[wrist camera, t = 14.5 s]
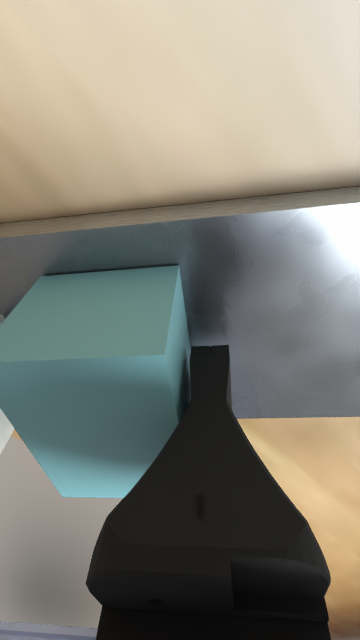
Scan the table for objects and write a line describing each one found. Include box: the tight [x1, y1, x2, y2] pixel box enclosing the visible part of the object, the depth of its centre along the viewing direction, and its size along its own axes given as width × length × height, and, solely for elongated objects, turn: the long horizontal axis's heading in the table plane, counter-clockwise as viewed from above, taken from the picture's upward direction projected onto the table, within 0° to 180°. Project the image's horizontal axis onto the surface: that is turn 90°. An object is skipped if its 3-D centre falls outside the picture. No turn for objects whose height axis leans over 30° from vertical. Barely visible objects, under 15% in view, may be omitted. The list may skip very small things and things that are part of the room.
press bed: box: [0, 186, 360, 419], centre depth 13 cm, size 10×26×4 cm, turn 97°
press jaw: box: [0, 265, 191, 498], centre depth 12 cm, size 7×5×4 cm
